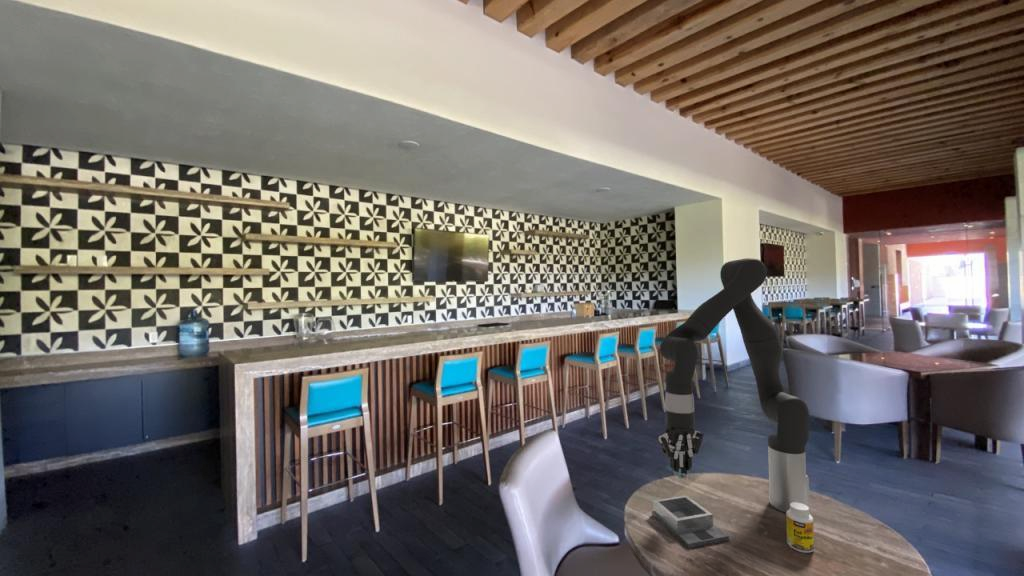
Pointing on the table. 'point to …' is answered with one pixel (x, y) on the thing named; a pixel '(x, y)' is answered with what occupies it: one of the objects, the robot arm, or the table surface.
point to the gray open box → (687, 521)
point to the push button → (681, 462)
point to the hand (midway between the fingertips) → (681, 469)
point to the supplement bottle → (800, 528)
